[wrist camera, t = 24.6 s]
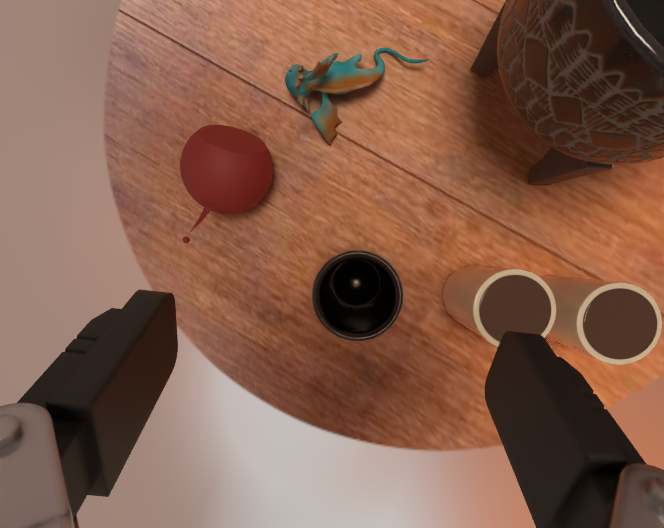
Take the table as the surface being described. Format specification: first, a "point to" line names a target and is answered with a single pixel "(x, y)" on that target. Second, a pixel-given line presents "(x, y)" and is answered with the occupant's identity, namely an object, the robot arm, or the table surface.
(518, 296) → the pot
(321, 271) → the grey cylindrical cup
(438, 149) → the table surface
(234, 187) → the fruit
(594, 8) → the planter
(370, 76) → the dragon figurine
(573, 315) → the pot
